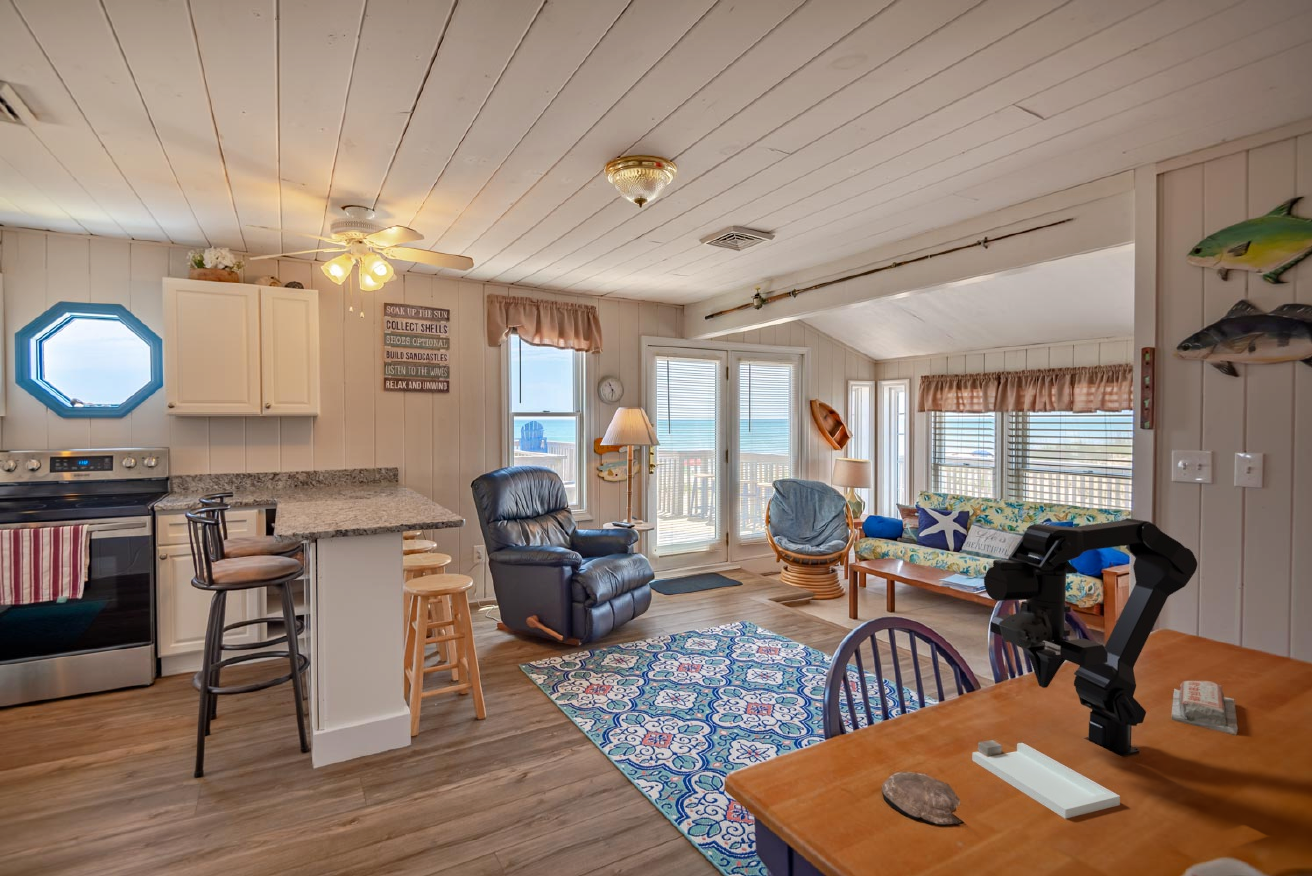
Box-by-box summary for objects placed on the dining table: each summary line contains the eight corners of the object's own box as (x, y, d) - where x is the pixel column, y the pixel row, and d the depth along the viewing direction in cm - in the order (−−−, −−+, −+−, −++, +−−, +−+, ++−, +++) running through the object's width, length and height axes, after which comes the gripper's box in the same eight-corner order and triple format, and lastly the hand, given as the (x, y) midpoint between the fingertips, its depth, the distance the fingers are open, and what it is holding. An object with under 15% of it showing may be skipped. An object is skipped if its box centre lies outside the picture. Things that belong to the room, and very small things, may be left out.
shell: (925, 837, 93) (925, 812, 93) (865, 790, 105) (865, 767, 105) (986, 820, 97) (986, 796, 97) (922, 776, 109) (922, 754, 109)
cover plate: (968, 736, 123) (968, 718, 123) (1011, 763, 114) (1012, 743, 114) (934, 742, 121) (934, 723, 121) (976, 769, 111) (976, 749, 111)
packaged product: (1239, 712, 124) (1171, 698, 130) (1238, 738, 124) (1171, 722, 130) (1235, 683, 138) (1174, 671, 144) (1234, 706, 138) (1173, 693, 144)
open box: (1021, 758, 114) (1022, 742, 114) (1119, 814, 98) (1120, 796, 98) (972, 769, 111) (972, 752, 111) (1064, 828, 95) (1065, 809, 94)
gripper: (968, 588, 121) (965, 672, 122) (1060, 617, 103) (1057, 716, 104) (1014, 584, 125) (1012, 665, 125) (1111, 611, 107) (1108, 706, 108)
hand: (1043, 686), depth 115 cm, fingers closed
